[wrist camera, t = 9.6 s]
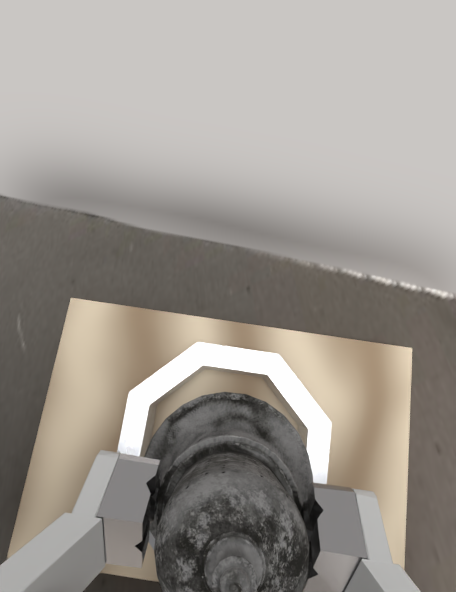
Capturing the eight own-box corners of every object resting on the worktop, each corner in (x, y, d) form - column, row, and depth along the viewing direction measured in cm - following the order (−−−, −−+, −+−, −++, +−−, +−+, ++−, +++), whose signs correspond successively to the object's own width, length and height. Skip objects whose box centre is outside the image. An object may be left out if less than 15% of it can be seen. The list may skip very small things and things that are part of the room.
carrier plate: (19, 548, 24) (6, 557, 23) (78, 303, 28) (71, 297, 27) (391, 607, 24) (402, 620, 23) (402, 351, 28) (412, 348, 26)
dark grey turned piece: (176, 379, 18) (98, 342, 7) (306, 411, 18) (463, 430, 6) (138, 522, 17) (-45, 794, 5) (279, 559, 17) (418, 928, 5)
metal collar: (111, 533, 23) (96, 552, 20) (149, 340, 26) (140, 333, 23) (306, 564, 23) (318, 587, 20) (323, 366, 26) (336, 362, 23)
